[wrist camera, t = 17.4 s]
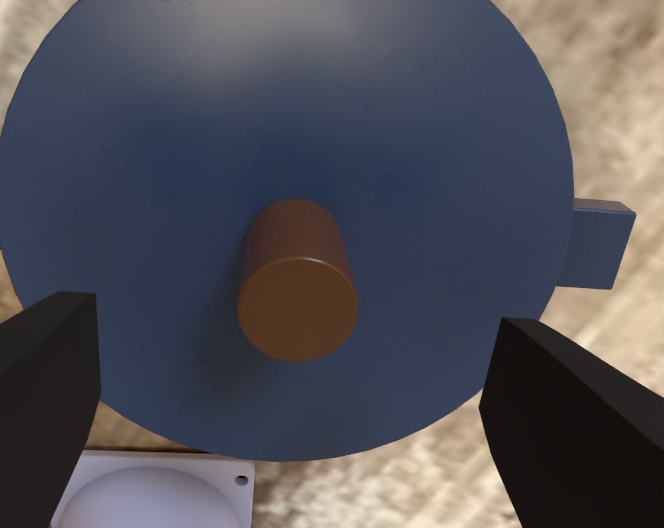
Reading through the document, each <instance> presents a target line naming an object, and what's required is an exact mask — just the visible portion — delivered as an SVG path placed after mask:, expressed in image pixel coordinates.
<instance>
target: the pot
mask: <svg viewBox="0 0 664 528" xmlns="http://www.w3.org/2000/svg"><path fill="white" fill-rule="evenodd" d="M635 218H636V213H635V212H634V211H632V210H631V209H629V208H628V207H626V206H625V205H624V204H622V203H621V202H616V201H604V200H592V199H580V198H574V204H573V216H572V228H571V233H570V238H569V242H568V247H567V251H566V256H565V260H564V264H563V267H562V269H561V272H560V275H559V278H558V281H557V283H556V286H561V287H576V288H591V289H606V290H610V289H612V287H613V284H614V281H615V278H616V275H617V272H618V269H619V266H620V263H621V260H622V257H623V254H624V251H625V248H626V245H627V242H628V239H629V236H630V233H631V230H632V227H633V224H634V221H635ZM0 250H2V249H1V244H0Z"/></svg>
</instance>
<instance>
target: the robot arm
mask: <svg viewBox="0 0 664 528" xmlns="http://www.w3.org/2000/svg"><path fill="white" fill-rule="evenodd" d="M100 395H101V375H100V358H99V340H98V322H97V304H96V293H86V292H69V291H58V292H56V293H53V294H51V295H49V296H47V297H46V298H44V299H42V300H40V301H38V302H37V303H35V304H33V305H31V306H30V307H28V308H26V309H25V310H23V311H21V312H20V313H18V314H16V315H15V316H13V317H11V318H10V319H8V320H6V321H4V322H3V323H1V324H0V528H48V527H49V524H50V522H51V528H251V517H252V504H253V490H254V477H255V461H254V460H246V459H239V458H234V457H229V456H223V455H218V454H197V453H165V452H133V451H101V450H83V449H84V447H85V444H86V442H87V439H88V436H89V433H90V429H91V426H92V423H93V420H94V416H95V413H96V409H97V406H98V402H99V398H100ZM479 411H480V415H481V419H482V423H483V427H484V431H485V435H486V438H487V442H488V445H489V448H490V452H491V455H492V458H493V460H494V463H495V465H496V467H497V470H498V472H499V474H500V477H501V479H502V481H503V484H504V486H505V489H506V491H507V493H508V495H509V498H510V500H511V502H512V505H513V507H514V509H515V511H516V514H517V516H518V518H519V521H520V523H521V525H522V527H523V528H664V398H663V397H661V396H660V395H658V394H656V393H655V392H653V391H651V390H649V389H648V388H646V387H644V386H643V385H641V384H640V383H638V382H636V381H635V380H633V379H631V378H630V377H628V376H627V375H625V374H623V373H622V372H620V371H619V370H617V369H615V368H614V367H612V366H611V365H609V364H608V363H606V362H604V361H603V360H601V359H600V358H598V357H597V356H595V355H594V354H592V353H590V352H589V351H587V350H586V349H584V348H583V347H581V346H580V345H578V344H576V343H575V342H573V341H572V340H570V339H569V338H567V337H565V336H564V335H562V334H560V333H559V332H557V331H556V330H554V329H552V328H550V327H549V326H547V325H545V324H543V323H541V322H539V321H537V320H535V319H528V318H511V317H502V318H501V322H500V325H499V329H498V333H497V337H496V341H495V345H494V349H493V353H492V357H491V361H490V365H489V368H488V372H487V376H486V380H485V384H484V388H483V392H482V396H481V400H480V404H479ZM241 475H242V476H246V478H238V476H241Z"/></svg>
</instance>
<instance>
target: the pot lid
mask: <svg viewBox="0 0 664 528" xmlns="http://www.w3.org/2000/svg"><path fill="white" fill-rule="evenodd" d="M573 204H574V182H573V163H572V155H571V150H570V145H569V140H568V135H567V130H566V125H565V122H564V119H563V116H562V113H561V110H560V107H559V104H558V102H557V99H556V96H555V93H554V90H553V88H552V86H551V84H550V82H549V80H548V78H547V76H546V74H545V73H544V71H543V69H542V67H541V65H540V63H539V61H538V59H537V57H536V55H535V54H534V52H533V51H532V50H531V48H530V47H529V46H528V44H527V43H526V41H525V40H524V39H523V37H522V36H521V35H520V33H519V32H518V30H517V29H516V28H515V26H514V25H513V24H512V22H511V21H510V20H509V19H508V18H507V17H506V16H505V15H504V14H503V13H502V12H501V11H500V10H499V9H498V8H497V7H496V6H495V5H494V4H493V3H492V2H491V1H490V0H78V1H77V2H76V3H74V4H73V5H72V6H71V8H70V9H69V10H68V11H67V12H66V13H65V15H64V16H63V17H62V18H61V19H60V20H59V21H58V23H57V24H56V25H55V26H54V27H53V28H52V30H51V31H50V32H49V33H48V34H47V35H46V37H45V38H44V40H43V41H42V43H41V44H40V46H39V48H38V49H37V51H36V52H35V54H34V56H33V57H32V59H31V60H30V62H29V64H28V65H27V67H26V68H25V70H24V72H23V74H22V76H21V79H20V81H19V83H18V86H17V88H16V90H15V93H14V95H13V97H12V100H11V102H10V104H9V107H8V109H7V113H6V117H5V121H4V125H3V129H2V133H1V137H0V244H1V249H2V255H3V259H4V262H5V265H6V268H7V270H8V273H9V276H10V279H11V282H12V285H13V288H14V290H15V293H16V295H17V297H18V299H19V301H20V303H21V305H22V307H23V309H24V310H25V309H26V308H28V307H30V306H31V305H33V304H35V303H37V302H38V301H40V300H42V299H44V298H46V297H47V296H49V295H51V294H53V293H56V292H58V291H69V292H86V293H96V304H97V322H98V340H99V358H100V375H101V395H100V398H99V400H101V401H102V402H103V403H105V404H106V405H108V406H109V407H111V408H112V409H113V410H115V411H116V412H118V413H119V414H121V415H122V416H123V417H125V418H127V419H129V420H131V421H133V422H134V423H136V424H138V425H140V426H142V427H144V428H145V429H147V430H149V431H151V432H153V433H155V434H158V435H160V436H162V437H165V438H167V439H170V440H172V441H175V442H177V443H179V444H182V445H185V446H189V447H192V448H195V449H199V450H202V451H206V452H209V453H212V454H218V455H223V456H229V457H234V458H239V459H246V460H259V461H271V462H291V461H312V460H320V459H328V458H337V457H341V456H346V455H350V454H355V453H359V452H363V451H368V450H371V449H374V448H377V447H380V446H383V445H386V444H389V443H392V442H395V441H397V440H400V439H402V438H404V437H406V436H408V435H411V434H413V433H415V432H417V431H419V430H422V429H424V428H426V427H427V426H429V425H431V424H433V423H434V422H436V421H438V420H439V419H441V418H443V417H445V416H446V415H448V414H450V413H451V412H453V411H454V410H455V409H457V408H458V407H460V406H461V405H462V404H464V403H465V402H466V401H468V400H469V399H470V398H472V397H473V396H474V395H476V394H477V393H478V392H479V391H480V390H481V389H482V388H483V387H484V384H485V380H486V376H487V372H488V368H489V365H490V361H491V357H492V353H493V349H494V345H495V341H496V337H497V333H498V329H499V325H500V322H501V318H502V317H511V318H528V319H535V320H537V321H539V319H540V317H541V316H542V314H543V312H544V310H545V308H546V306H547V304H548V302H549V300H550V298H551V296H552V294H553V292H554V289H555V286H556V283H557V281H558V278H559V275H560V272H561V269H562V267H563V264H564V260H565V256H566V251H567V247H568V242H569V238H570V233H571V228H572V216H573Z"/></svg>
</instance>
